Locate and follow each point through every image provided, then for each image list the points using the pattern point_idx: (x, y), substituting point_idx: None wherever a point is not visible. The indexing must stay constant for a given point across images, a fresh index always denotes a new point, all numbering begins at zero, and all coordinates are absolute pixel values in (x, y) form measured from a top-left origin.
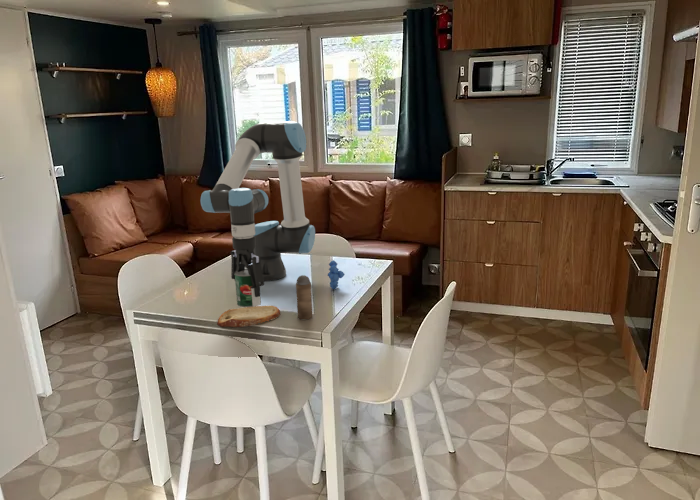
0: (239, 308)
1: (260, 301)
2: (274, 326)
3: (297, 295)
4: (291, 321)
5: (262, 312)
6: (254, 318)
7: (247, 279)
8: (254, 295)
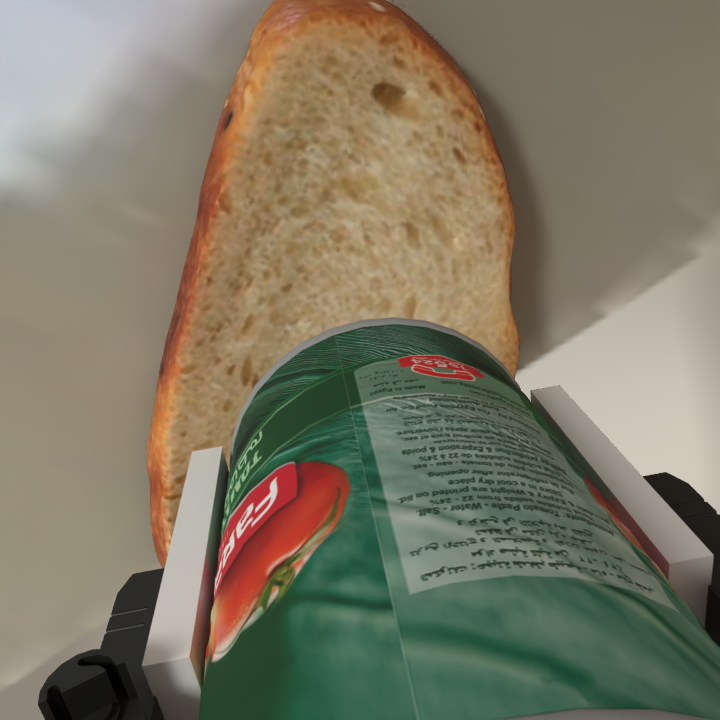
0: (171, 441)
1: (488, 357)
2: (665, 264)
3: None
4: (698, 52)
5: (352, 237)
6: None
7: None
8: None
